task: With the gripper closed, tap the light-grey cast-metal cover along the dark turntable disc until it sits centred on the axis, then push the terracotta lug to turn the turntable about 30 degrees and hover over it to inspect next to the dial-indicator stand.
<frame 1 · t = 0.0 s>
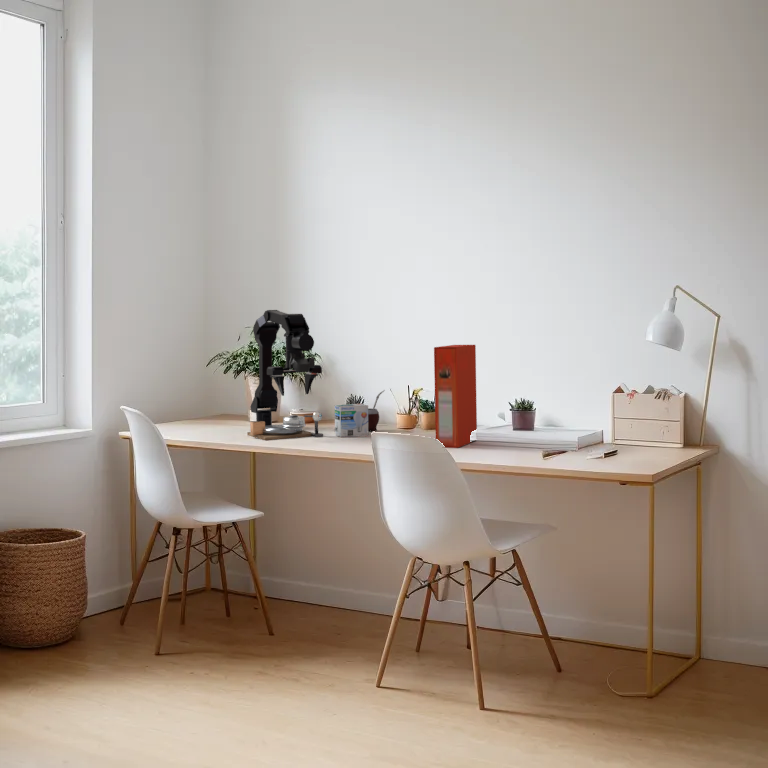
hand: (295, 394, 346), 15 cm above the table, fingers open, 9 cm apart
mate gourd: (371, 431, 360), on the table
light bulb box: (351, 435, 349), on the table
turntable: (276, 426, 349), point 3 cm above the table, hinge at 0.0°, touching cover
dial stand: (316, 436, 347), on the table
plinth: (281, 435, 350), on the table
cover: (293, 426, 353), point 3 cm above the table, touching turntable
file binder: (456, 444, 324), on the table
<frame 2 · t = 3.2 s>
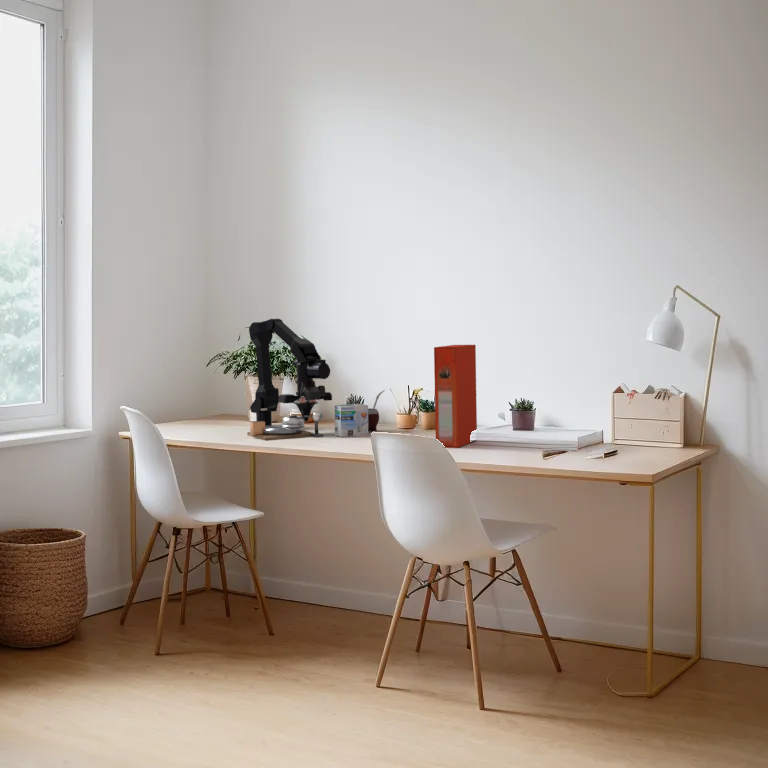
hand: (306, 421, 355), 4 cm above the table, fingers closed
turntable: (276, 426, 349), point 3 cm above the table, hinge at 0.0°
cover: (293, 426, 352), point 3 cm above the table, touching gripper
everything else where it was.
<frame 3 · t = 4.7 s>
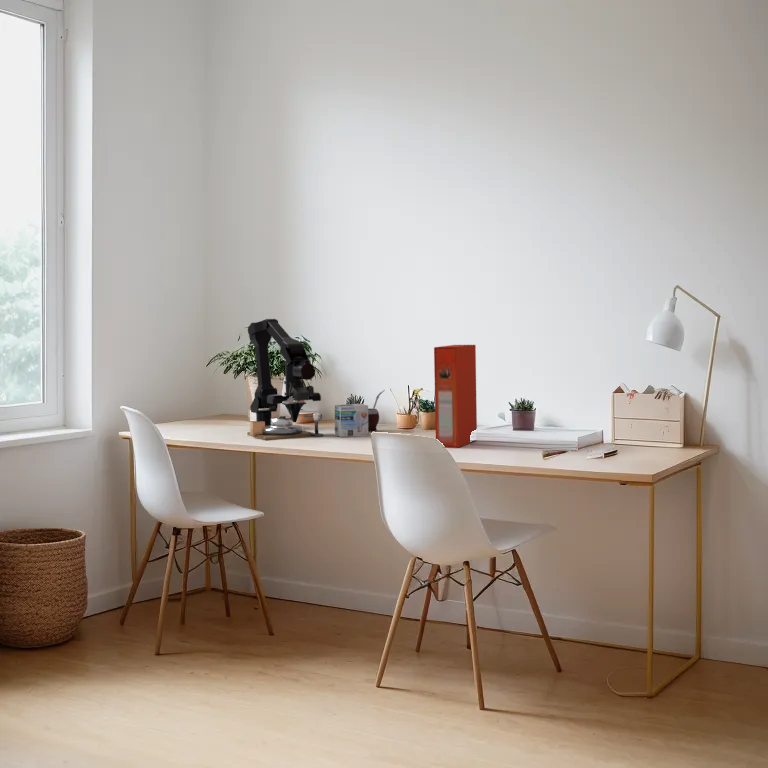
hand: (294, 422, 353), 4 cm above the table, fingers closed
turntable: (276, 426, 349), point 3 cm above the table, hinge at -0.7°, touching cover
cover: (281, 427, 350), point 3 cm above the table, touching gripper, turntable
everything else where it was.
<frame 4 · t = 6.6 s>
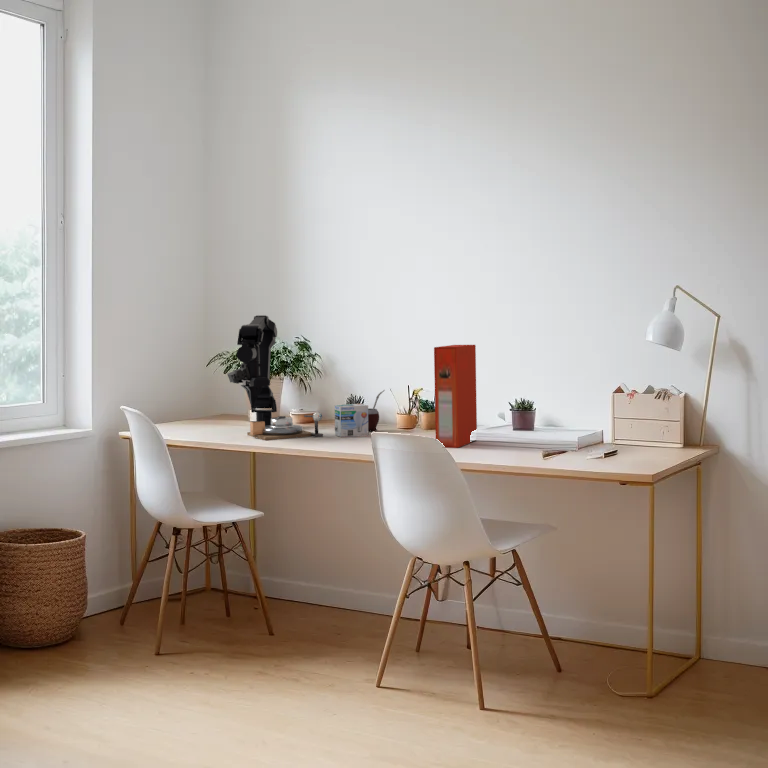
hand: (252, 404, 352), 11 cm above the table, fingers closed
cover: (281, 427, 350), point 3 cm above the table, touching turntable
everything else where it was.
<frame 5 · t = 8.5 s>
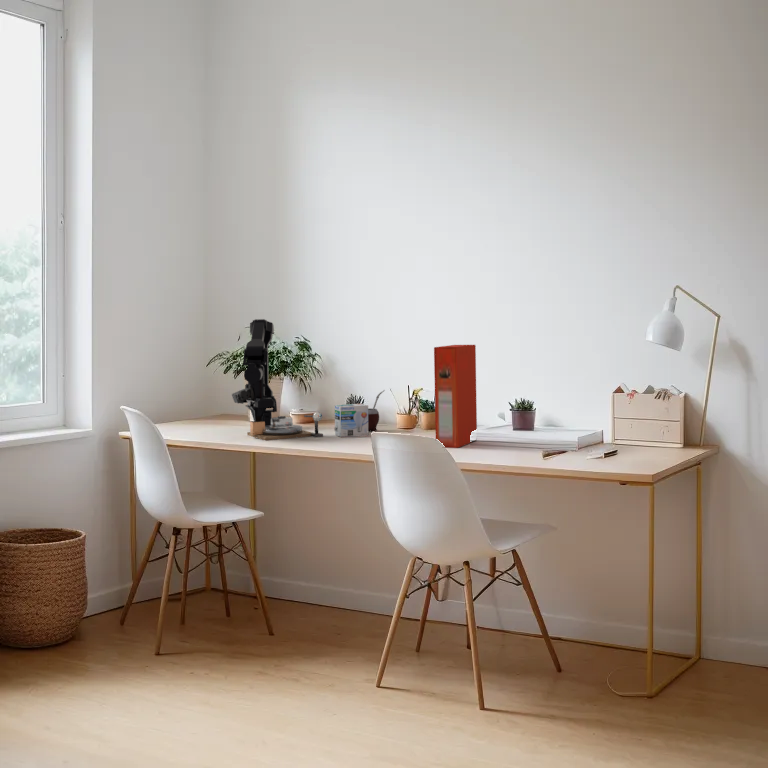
hand: (256, 425, 348), 4 cm above the table, fingers closed
turntable: (276, 426, 349), point 3 cm above the table, hinge at -0.6°, touching cover, gripper
everything else where it was.
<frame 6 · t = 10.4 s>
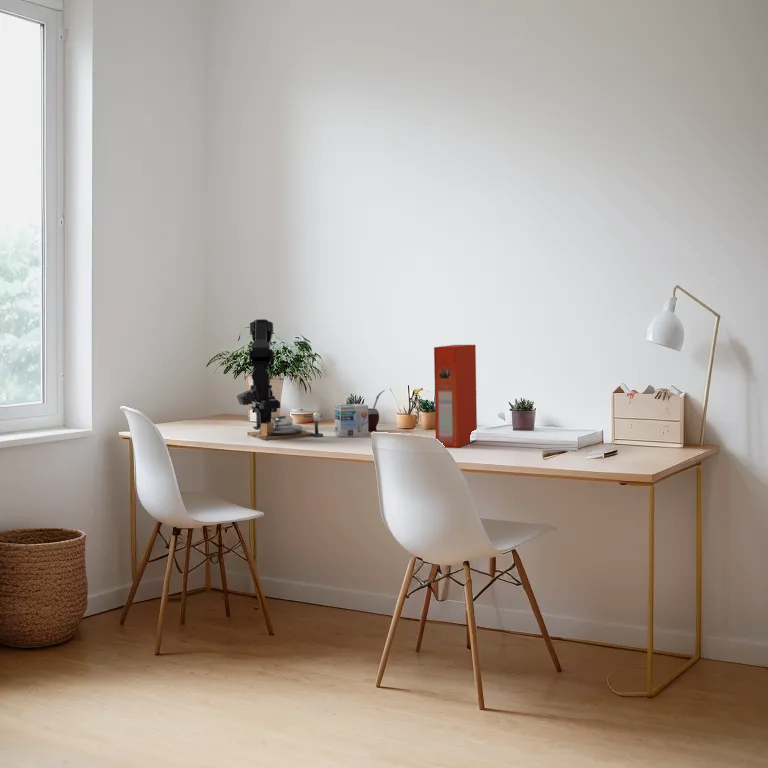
hand: (262, 427, 344), 4 cm above the table, fingers closed
turntable: (278, 426, 348), point 3 cm above the table, hinge at 34.5°, touching cover
everything else where it was.
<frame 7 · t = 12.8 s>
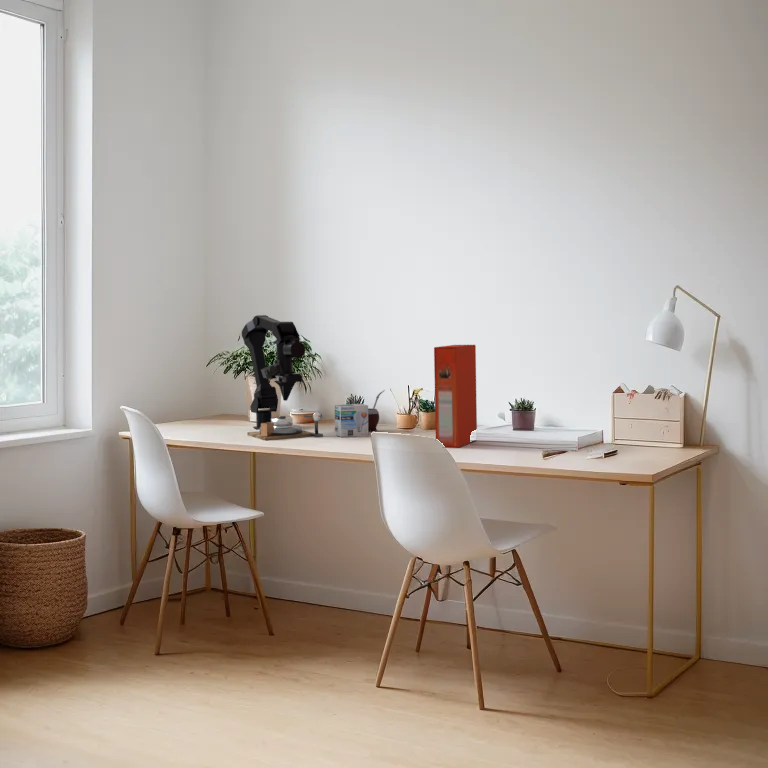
hand: (285, 400, 356), 12 cm above the table, fingers closed
nothing on the table moved.
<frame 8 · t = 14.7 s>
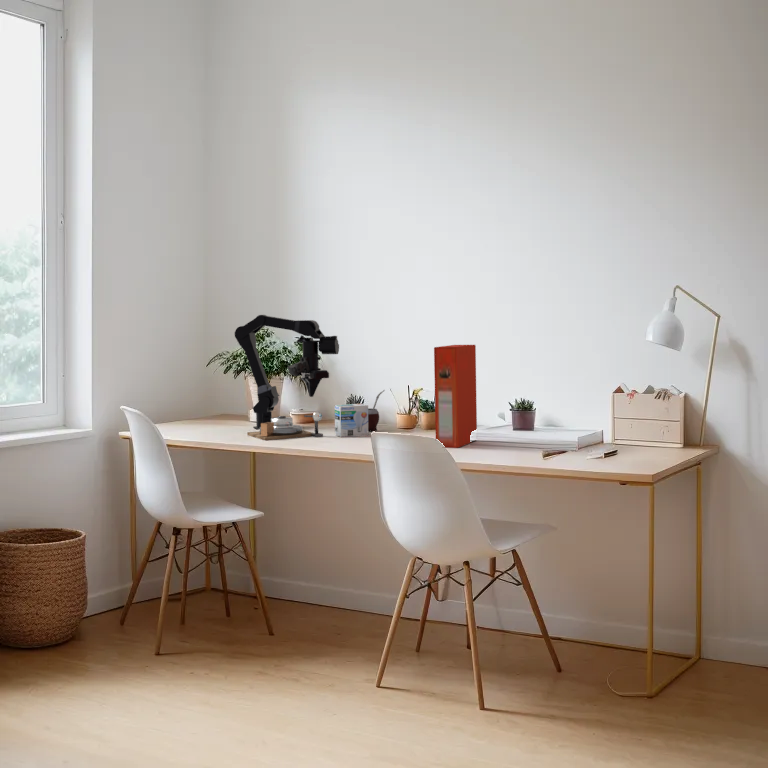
hand: (311, 396, 367), 12 cm above the table, fingers closed
nothing on the table moved.
at the end: cover 0.3 cm from the turntable (horizontally); turntable at +34° (first picture: +0°); cover tilted 0° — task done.
